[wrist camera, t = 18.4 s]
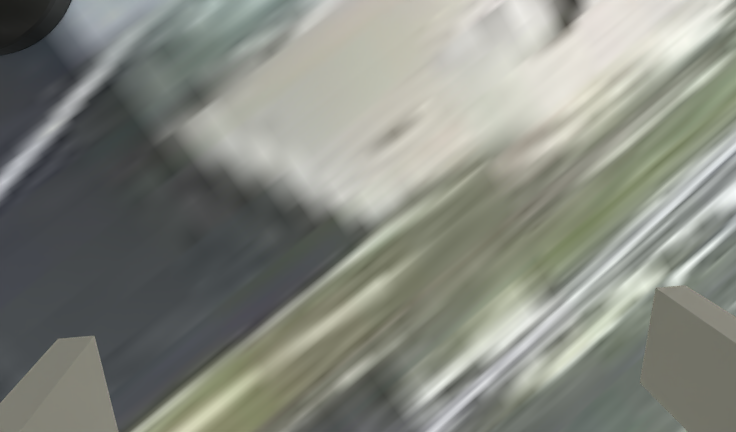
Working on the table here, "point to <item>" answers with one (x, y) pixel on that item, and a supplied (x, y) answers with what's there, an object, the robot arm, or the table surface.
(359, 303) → the table surface
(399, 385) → the table surface
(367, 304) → the table surface
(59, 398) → the robot arm
